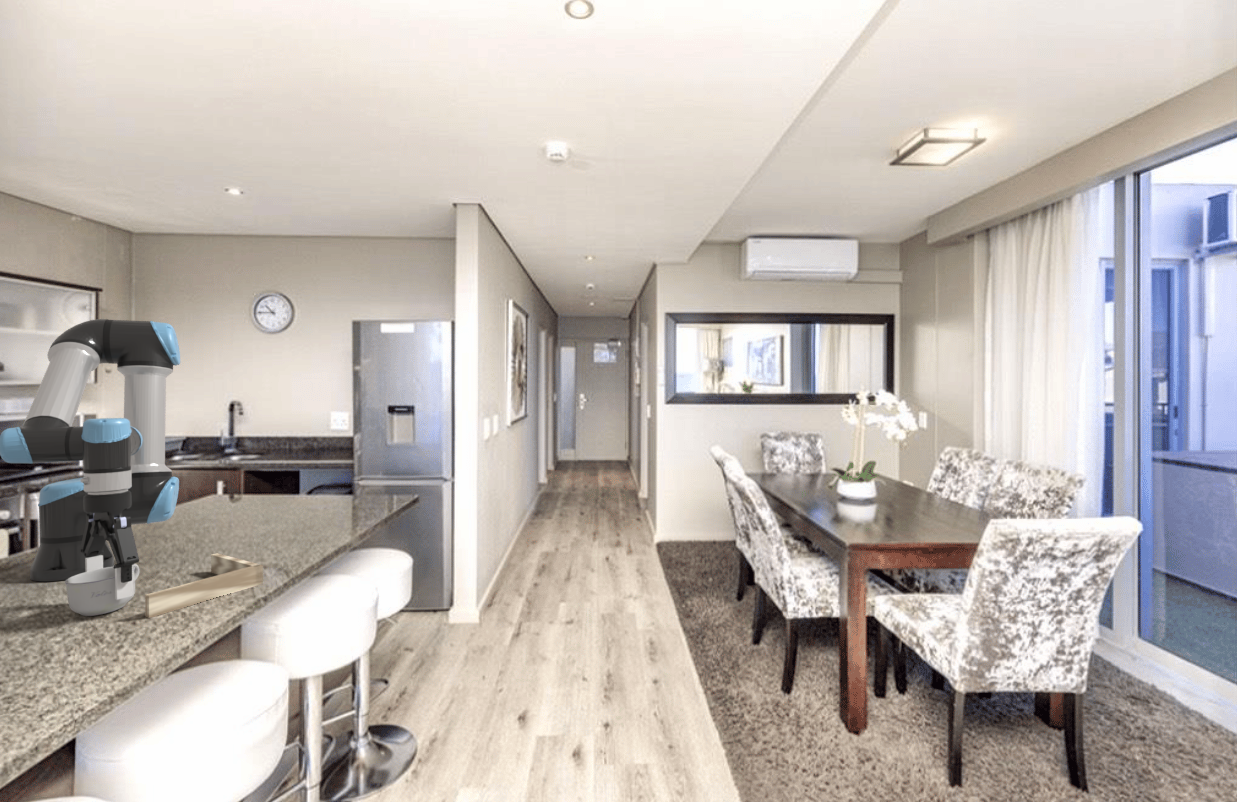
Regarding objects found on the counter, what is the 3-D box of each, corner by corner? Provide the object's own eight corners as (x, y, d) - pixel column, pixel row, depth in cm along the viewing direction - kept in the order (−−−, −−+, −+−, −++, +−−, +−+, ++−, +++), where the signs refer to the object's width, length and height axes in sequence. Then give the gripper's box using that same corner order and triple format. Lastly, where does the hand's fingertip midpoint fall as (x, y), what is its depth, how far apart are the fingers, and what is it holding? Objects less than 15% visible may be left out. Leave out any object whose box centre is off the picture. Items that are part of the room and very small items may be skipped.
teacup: (93, 623, 112) (93, 583, 112) (51, 618, 114) (50, 579, 114) (163, 597, 125) (162, 561, 125) (124, 593, 128) (123, 558, 127)
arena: (104, 600, 124) (104, 579, 123) (217, 570, 143) (217, 553, 143) (149, 618, 114) (148, 596, 114) (262, 583, 134) (262, 565, 134)
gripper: (59, 489, 122) (60, 587, 122) (113, 499, 110) (114, 608, 110) (103, 484, 128) (104, 577, 128) (158, 493, 117) (160, 596, 117)
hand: (109, 592), depth 119 cm, fingers open, 13 cm apart
